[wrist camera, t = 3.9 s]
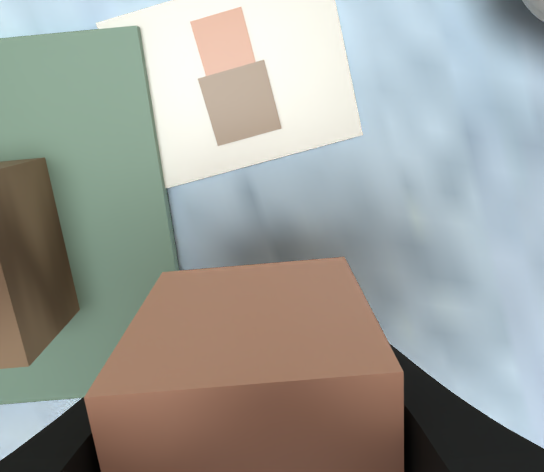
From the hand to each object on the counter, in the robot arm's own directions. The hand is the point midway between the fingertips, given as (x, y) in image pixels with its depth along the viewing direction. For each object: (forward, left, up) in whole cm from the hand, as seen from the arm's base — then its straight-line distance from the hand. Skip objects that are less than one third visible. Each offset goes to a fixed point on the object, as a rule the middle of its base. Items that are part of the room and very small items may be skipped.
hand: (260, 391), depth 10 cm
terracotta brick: (0, 0, -2) cm, 2 cm away
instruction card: (+7, 0, -8) cm, 11 cm away
